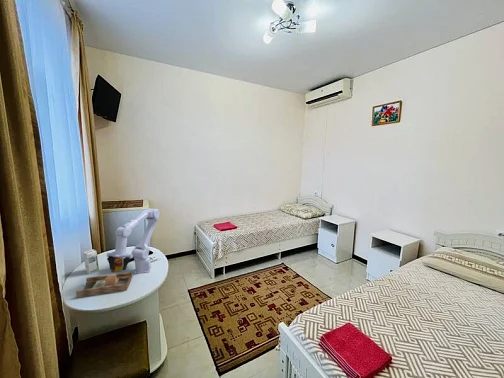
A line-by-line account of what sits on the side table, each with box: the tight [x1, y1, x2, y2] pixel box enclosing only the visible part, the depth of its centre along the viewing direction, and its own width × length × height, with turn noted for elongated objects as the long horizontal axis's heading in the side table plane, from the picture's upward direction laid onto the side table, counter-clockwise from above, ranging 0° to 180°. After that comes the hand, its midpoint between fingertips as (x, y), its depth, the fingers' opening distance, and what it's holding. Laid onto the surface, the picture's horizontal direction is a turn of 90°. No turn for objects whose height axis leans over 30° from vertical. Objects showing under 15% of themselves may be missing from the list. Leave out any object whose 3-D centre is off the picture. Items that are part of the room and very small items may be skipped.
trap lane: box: [75, 271, 133, 299], centre depth 131 cm, size 25×14×4 cm, turn 107°
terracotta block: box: [105, 273, 117, 286], centre depth 132 cm, size 4×4×4 cm
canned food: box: [110, 251, 125, 273], centre depth 151 cm, size 8×8×12 cm
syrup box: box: [83, 249, 100, 275], centre depth 148 cm, size 6×6×14 cm
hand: (117, 269), depth 132 cm, fingers open, 7 cm apart
